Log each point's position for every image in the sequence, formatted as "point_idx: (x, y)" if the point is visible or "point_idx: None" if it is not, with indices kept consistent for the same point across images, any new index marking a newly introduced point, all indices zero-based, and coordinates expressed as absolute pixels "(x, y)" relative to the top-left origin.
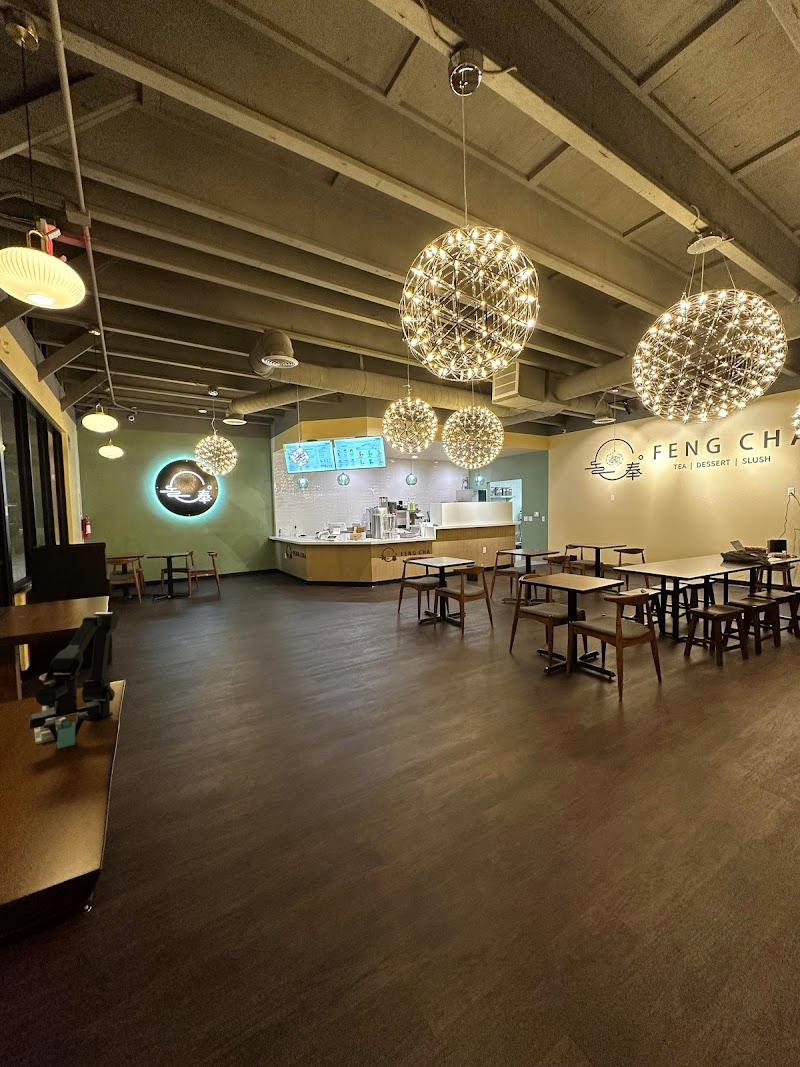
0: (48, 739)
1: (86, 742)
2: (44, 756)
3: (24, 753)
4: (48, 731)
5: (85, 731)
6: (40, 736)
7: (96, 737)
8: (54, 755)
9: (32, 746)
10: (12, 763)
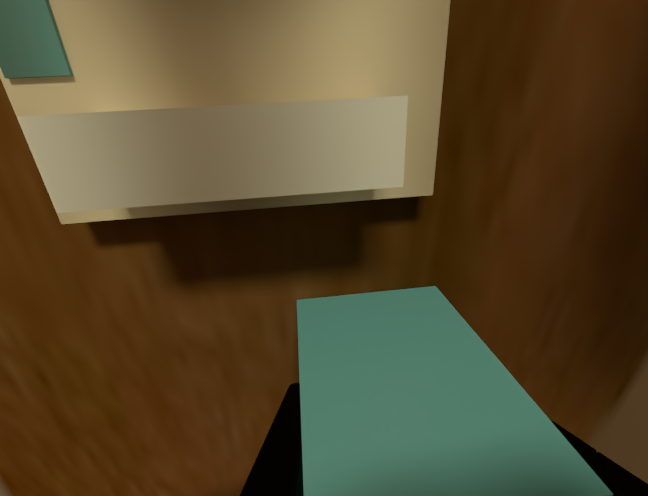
0: (206, 211)
1: None
2: (226, 467)
3: (41, 366)
4: (160, 168)
5: (576, 153)
6: (60, 37)
7: (579, 348)
8: None
9: (62, 248)
10: (16, 477)
